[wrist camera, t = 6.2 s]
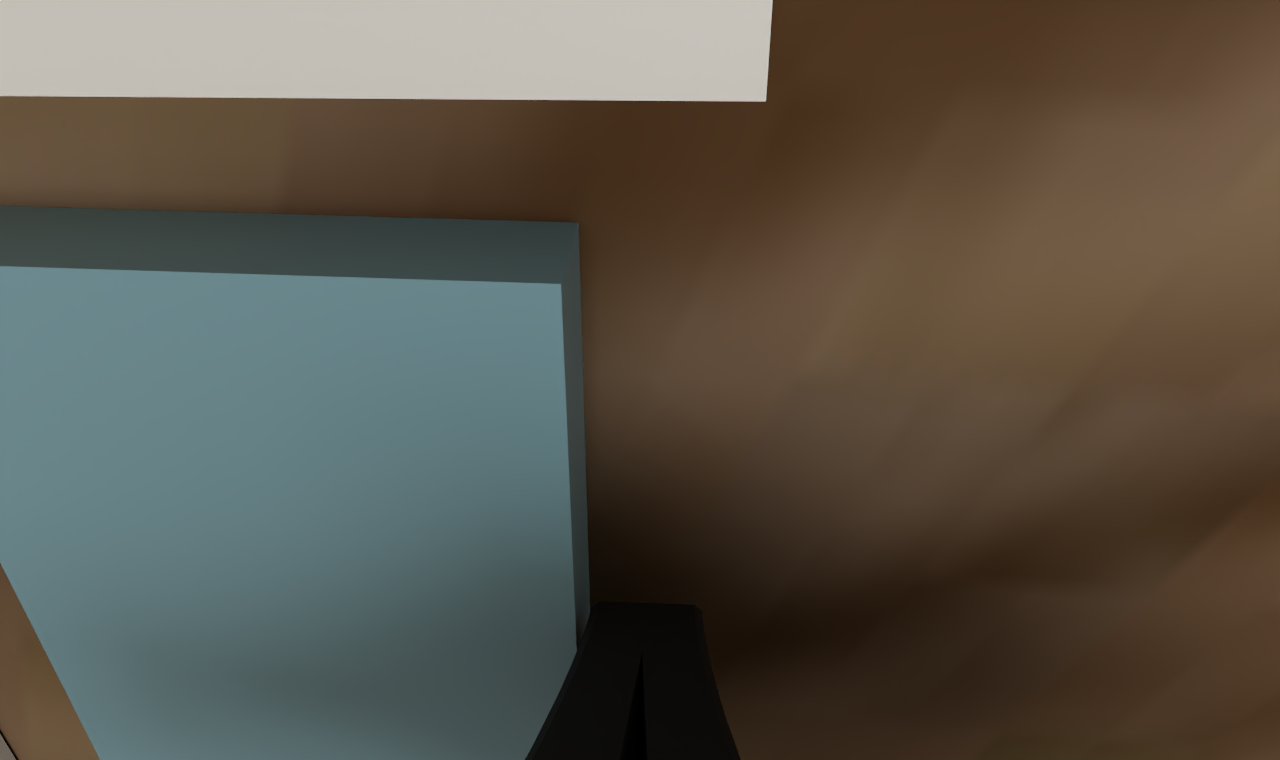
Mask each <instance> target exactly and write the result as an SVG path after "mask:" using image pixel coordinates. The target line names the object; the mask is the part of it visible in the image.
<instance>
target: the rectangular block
mask: <svg viewBox="0 0 1280 760" xmlns="http://www.w3.org/2000/svg"><path fill="white" fill-rule="evenodd" d="M0 563H1V565H2V567H3V569H4V571H5V573H6V575H7V577H8V579H9V581H10V583H11V585H12V587H13V589H14V591H15V593H16V595H17V597H18V599H19V601H20V603H21V605H22V607H23V609H24V610H25V612H26V614H27V616H28V618H29V620H30V622H31V624H32V626H33V628H34V630H35V632H36V634H37V636H38V638H39V640H40V642H41V644H42V646H43V648H44V650H45V652H46V654H47V656H48V658H49V660H50V662H51V664H52V666H53V668H54V670H55V672H56V674H57V676H58V678H59V680H60V682H61V684H62V685H63V687H64V689H65V691H66V693H67V695H68V697H69V699H70V701H71V703H72V705H73V707H74V709H75V711H76V713H77V715H78V717H79V719H80V721H81V723H82V725H83V727H84V729H85V731H86V733H87V735H88V737H89V739H90V741H91V743H92V745H93V747H94V749H95V751H96V753H97V755H98V757H99V759H100V760H525V758H526V757H527V755H528V753H529V751H530V749H531V748H532V746H533V744H534V742H535V740H536V738H537V736H538V734H539V732H540V730H541V728H542V726H543V724H544V722H545V720H546V718H547V716H548V714H549V712H550V710H551V708H552V706H553V704H554V702H555V700H556V698H557V696H558V694H559V691H560V689H561V687H562V685H563V682H564V680H565V678H566V676H567V673H568V671H569V669H570V667H571V664H572V662H573V659H574V657H575V655H576V652H577V649H578V647H579V644H580V642H581V639H582V636H583V633H584V630H585V627H586V624H587V621H588V617H589V614H590V588H589V555H588V522H587V488H586V455H585V421H584V388H583V354H582V321H581V287H580V254H579V223H572V222H538V221H504V220H469V219H435V218H401V217H366V216H332V215H298V214H263V213H229V212H195V211H160V210H126V209H92V208H57V207H23V206H0Z"/></svg>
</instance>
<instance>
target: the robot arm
mask: <svg viewBox="0 0 1280 760" xmlns="http://www.w3.org/2000/svg"><path fill="white" fill-rule="evenodd" d="M525 760H740V757H739V754H738V751H737V748H736V745H735V743H734V740H733V737H732V734H731V731H730V728H729V726H728V723H727V720H726V717H725V714H724V710H723V707H722V704H721V701H720V698H719V694H718V690H717V687H716V683H715V679H714V676H713V672H712V668H711V664H710V660H709V656H708V651H707V646H706V641H705V634H704V628H703V618H702V611H701V610H699V609H698V608H697V607H696V606H695V605H685V604H656V603H628V602H598V603H597V604H596V605H594V606H593V607H591V610H590V614H589V617H588V621H587V624H586V627H585V630H584V633H583V636H582V639H581V642H580V644H579V647H578V649H577V652H576V655H575V657H574V659H573V662H572V664H571V667H570V669H569V671H568V673H567V676H566V678H565V680H564V682H563V685H562V687H561V689H560V691H559V694H558V696H557V698H556V700H555V702H554V704H553V706H552V708H551V710H550V712H549V714H548V716H547V718H546V720H545V722H544V724H543V726H542V728H541V730H540V732H539V734H538V736H537V738H536V740H535V742H534V744H533V746H532V748H531V749H530V751H529V753H528V755H527V757H526V758H525Z"/></svg>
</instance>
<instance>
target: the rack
mask: <svg viewBox="0 0 1280 760" xmlns="http://www.w3.org/2000/svg"><path fill="white" fill-rule="evenodd" d="M772 2H773V0H0V96H76V97H215V98H354V99H493V100H632V101H766V93H767V78H768V63H769V48H770V33H771V17H772ZM0 760H16V759H15V757H14V756H13V754H12V752H11V751H10V749H9V747H8V746H7V744H6V743H5V741H4V739H3V738H2V736H1V734H0Z"/></svg>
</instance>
